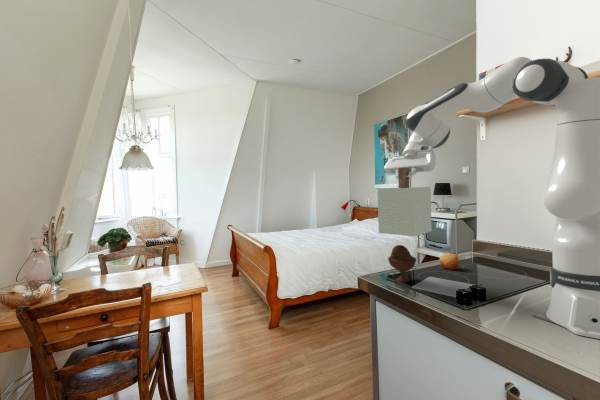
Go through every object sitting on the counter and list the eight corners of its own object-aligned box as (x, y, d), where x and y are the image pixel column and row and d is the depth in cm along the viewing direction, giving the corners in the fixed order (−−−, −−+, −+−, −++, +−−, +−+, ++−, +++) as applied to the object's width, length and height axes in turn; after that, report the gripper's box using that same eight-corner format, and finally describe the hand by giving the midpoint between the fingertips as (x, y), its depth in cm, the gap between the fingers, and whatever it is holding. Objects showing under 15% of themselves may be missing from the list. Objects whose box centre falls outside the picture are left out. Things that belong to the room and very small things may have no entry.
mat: (475, 286, 105) (475, 284, 105) (460, 299, 94) (460, 298, 94) (429, 277, 118) (429, 276, 118) (411, 288, 106) (410, 287, 106)
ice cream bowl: (420, 285, 109) (418, 247, 109) (390, 285, 111) (388, 247, 111) (414, 277, 119) (413, 242, 119) (387, 276, 122) (386, 242, 121)
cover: (431, 231, 114) (430, 166, 112) (414, 236, 103) (413, 165, 102) (396, 228, 125) (395, 169, 123) (378, 232, 114) (376, 169, 113)
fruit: (467, 266, 126) (458, 252, 125) (454, 276, 125) (445, 262, 124) (454, 262, 134) (446, 248, 133) (442, 271, 133) (433, 258, 132)
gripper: (388, 152, 125) (376, 174, 119) (435, 146, 110) (425, 170, 104) (393, 162, 128) (382, 184, 122) (440, 157, 113) (430, 182, 107)
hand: (402, 178), depth 113 cm, fingers closed on cover, 3 cm apart
